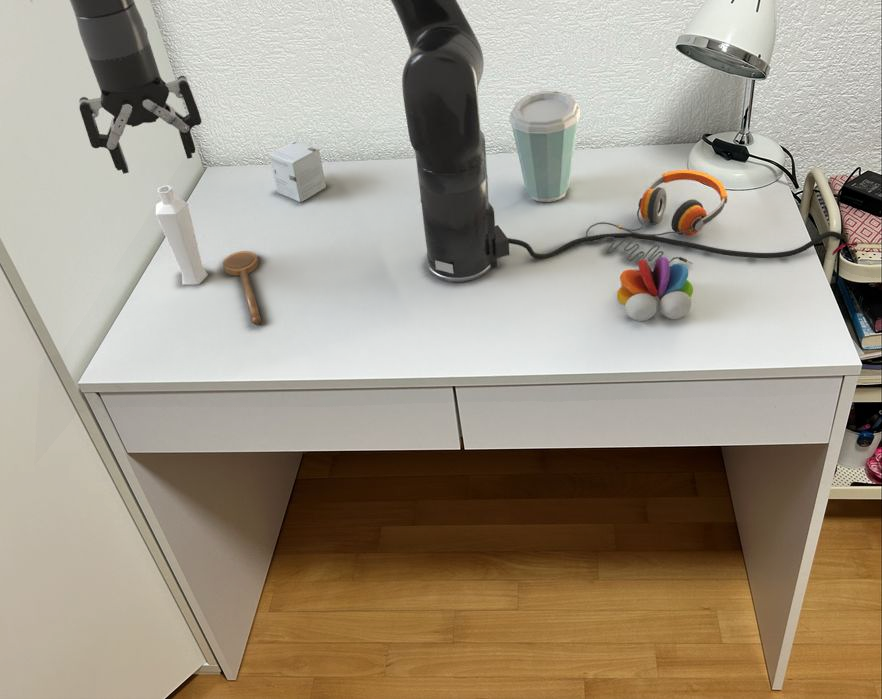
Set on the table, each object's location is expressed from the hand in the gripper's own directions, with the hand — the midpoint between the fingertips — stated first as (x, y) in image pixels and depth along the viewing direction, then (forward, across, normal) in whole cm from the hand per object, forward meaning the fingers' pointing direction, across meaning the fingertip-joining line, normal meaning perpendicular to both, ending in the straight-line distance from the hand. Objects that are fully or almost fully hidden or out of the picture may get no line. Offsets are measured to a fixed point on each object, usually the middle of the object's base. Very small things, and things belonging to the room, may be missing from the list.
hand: (158, 163), depth 117 cm
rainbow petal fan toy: (+20, +56, -34) cm, 69 cm away
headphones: (+20, +67, -19) cm, 72 cm away
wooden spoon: (+19, +7, -7) cm, 21 cm away
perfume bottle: (+19, 0, 0) cm, 19 cm away
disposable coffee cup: (+20, +56, -1) cm, 59 cm away
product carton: (+19, +20, +18) cm, 33 cm away
